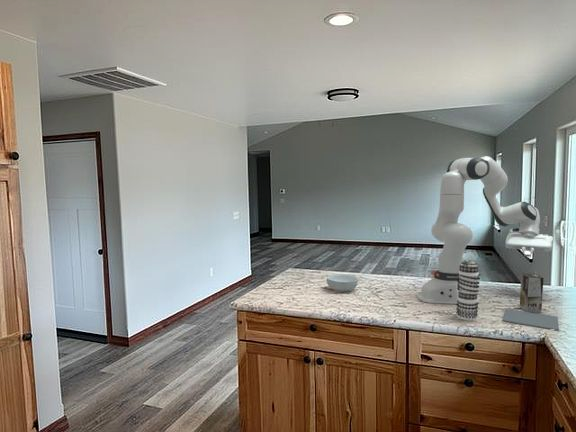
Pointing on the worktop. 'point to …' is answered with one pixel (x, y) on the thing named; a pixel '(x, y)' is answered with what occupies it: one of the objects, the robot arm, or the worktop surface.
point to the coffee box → (531, 292)
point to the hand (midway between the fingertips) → (527, 255)
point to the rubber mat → (531, 319)
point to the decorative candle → (468, 290)
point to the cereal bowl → (342, 282)
